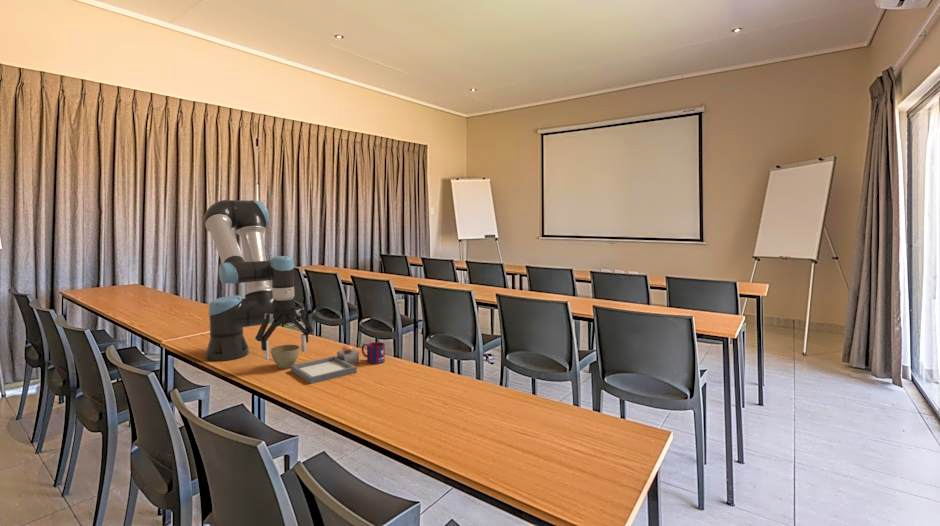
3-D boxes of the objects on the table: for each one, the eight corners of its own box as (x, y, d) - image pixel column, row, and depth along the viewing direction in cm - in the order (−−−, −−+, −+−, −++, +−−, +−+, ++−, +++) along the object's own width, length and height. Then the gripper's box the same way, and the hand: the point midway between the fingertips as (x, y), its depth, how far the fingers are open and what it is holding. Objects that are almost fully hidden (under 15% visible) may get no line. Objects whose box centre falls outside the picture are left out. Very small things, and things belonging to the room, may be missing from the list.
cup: (376, 365, 174) (376, 347, 174) (357, 360, 180) (357, 343, 179) (388, 360, 180) (388, 343, 179) (369, 356, 185) (369, 339, 185)
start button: (340, 355, 178) (340, 346, 178) (350, 353, 181) (349, 344, 180) (345, 357, 175) (345, 349, 175) (355, 355, 178) (355, 347, 177)
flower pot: (290, 372, 166) (289, 352, 165) (265, 370, 168) (264, 351, 167) (305, 363, 176) (304, 345, 175) (281, 361, 178) (281, 343, 177)
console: (337, 361, 178) (336, 351, 178) (351, 358, 182) (351, 348, 182) (344, 365, 174) (344, 355, 174) (358, 362, 178) (358, 352, 178)
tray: (291, 371, 167) (290, 365, 167) (334, 361, 179) (334, 356, 179) (311, 383, 155) (310, 377, 155) (356, 372, 166) (356, 366, 166)
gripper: (251, 303, 158) (254, 364, 160) (320, 295, 175) (322, 350, 177) (244, 301, 164) (247, 359, 165) (312, 293, 180) (314, 346, 182)
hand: (286, 355), depth 171 cm, fingers open, 13 cm apart
